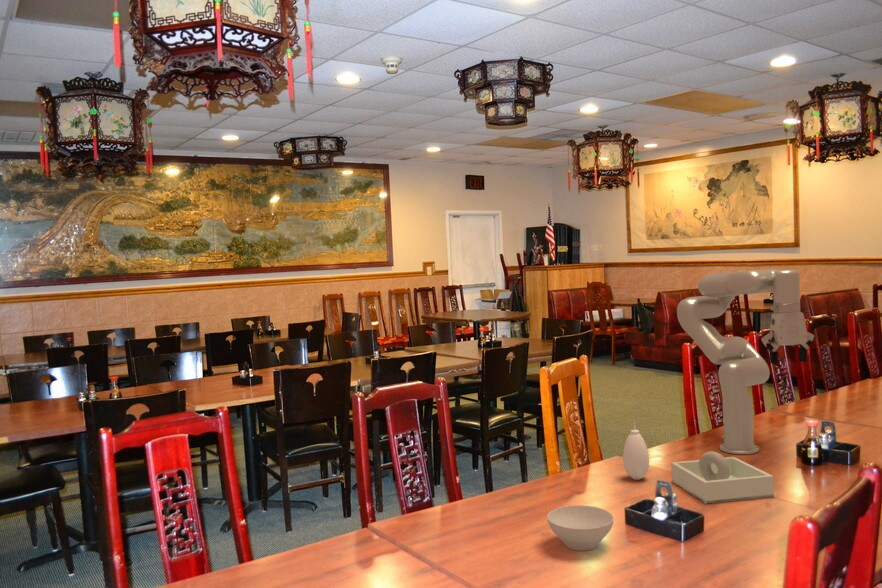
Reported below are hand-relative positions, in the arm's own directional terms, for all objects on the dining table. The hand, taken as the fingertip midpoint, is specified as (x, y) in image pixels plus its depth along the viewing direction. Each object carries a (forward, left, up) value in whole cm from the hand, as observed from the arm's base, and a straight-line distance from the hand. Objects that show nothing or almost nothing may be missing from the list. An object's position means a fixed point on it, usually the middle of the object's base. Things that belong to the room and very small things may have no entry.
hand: (788, 362), depth 222 cm
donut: (+12, -33, -33) cm, 48 cm away
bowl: (+42, -84, -34) cm, 100 cm away
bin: (+14, -32, -33) cm, 48 cm away
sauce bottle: (-2, -51, -34) cm, 61 cm away
